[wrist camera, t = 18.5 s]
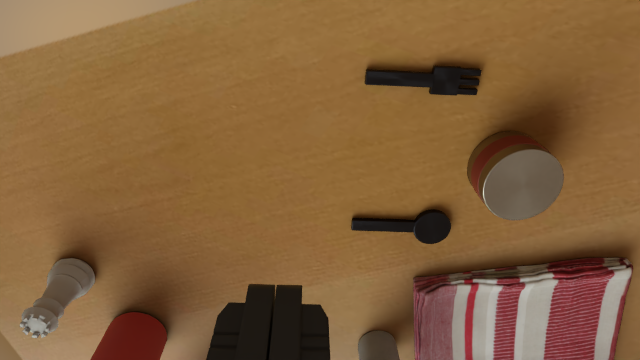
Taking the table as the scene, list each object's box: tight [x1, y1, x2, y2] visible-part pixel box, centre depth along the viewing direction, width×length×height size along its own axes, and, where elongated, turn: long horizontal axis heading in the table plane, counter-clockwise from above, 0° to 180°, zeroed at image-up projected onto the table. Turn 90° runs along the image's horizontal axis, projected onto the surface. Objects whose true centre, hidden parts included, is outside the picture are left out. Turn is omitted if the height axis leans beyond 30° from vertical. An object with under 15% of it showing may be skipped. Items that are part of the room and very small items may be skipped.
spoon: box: [351, 209, 451, 244], centre depth 45 cm, size 10×4×1 cm, turn 87°
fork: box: [365, 66, 482, 95], centre depth 39 cm, size 10×2×1 cm, turn 87°
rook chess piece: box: [20, 258, 95, 338], centre depth 44 cm, size 4×4×8 cm
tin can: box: [467, 131, 564, 220], centre depth 41 cm, size 7×7×4 cm
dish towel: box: [413, 258, 633, 360], centre depth 51 cm, size 17×23×3 cm
